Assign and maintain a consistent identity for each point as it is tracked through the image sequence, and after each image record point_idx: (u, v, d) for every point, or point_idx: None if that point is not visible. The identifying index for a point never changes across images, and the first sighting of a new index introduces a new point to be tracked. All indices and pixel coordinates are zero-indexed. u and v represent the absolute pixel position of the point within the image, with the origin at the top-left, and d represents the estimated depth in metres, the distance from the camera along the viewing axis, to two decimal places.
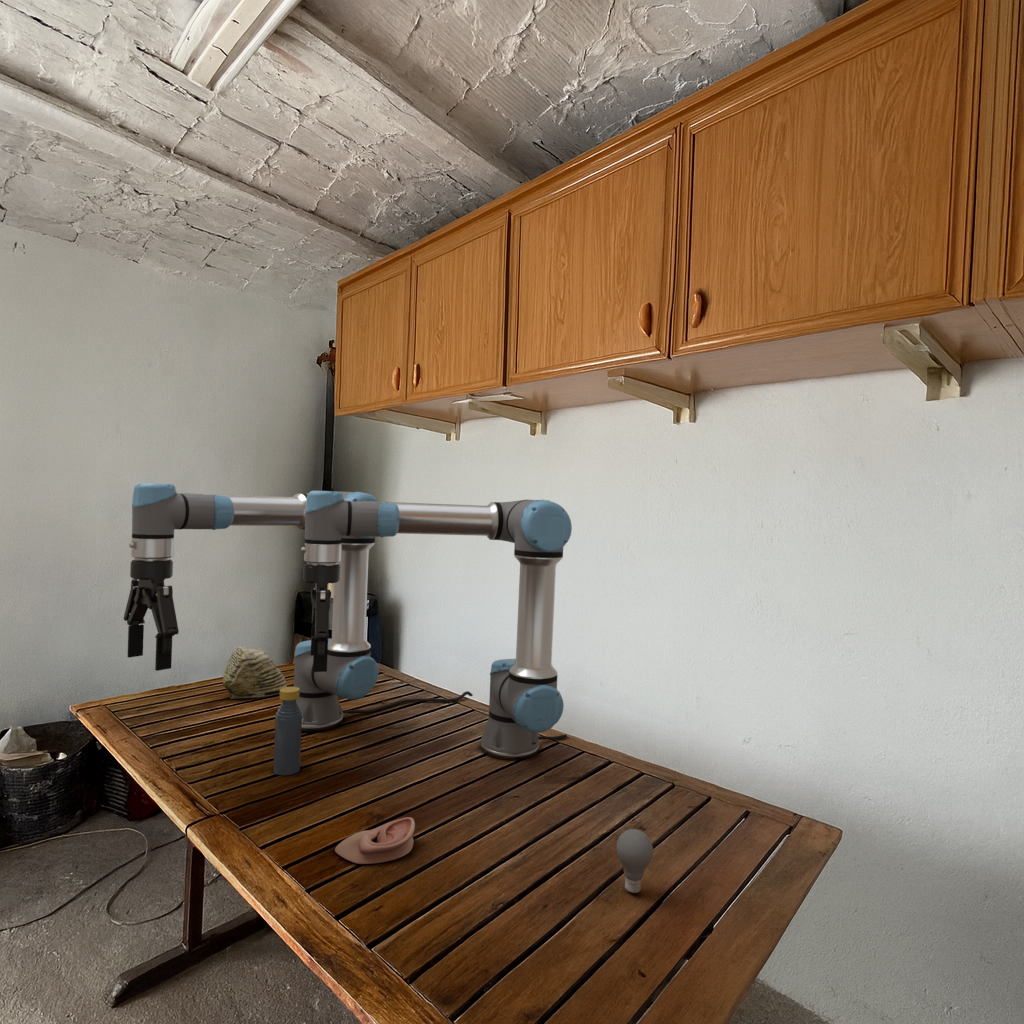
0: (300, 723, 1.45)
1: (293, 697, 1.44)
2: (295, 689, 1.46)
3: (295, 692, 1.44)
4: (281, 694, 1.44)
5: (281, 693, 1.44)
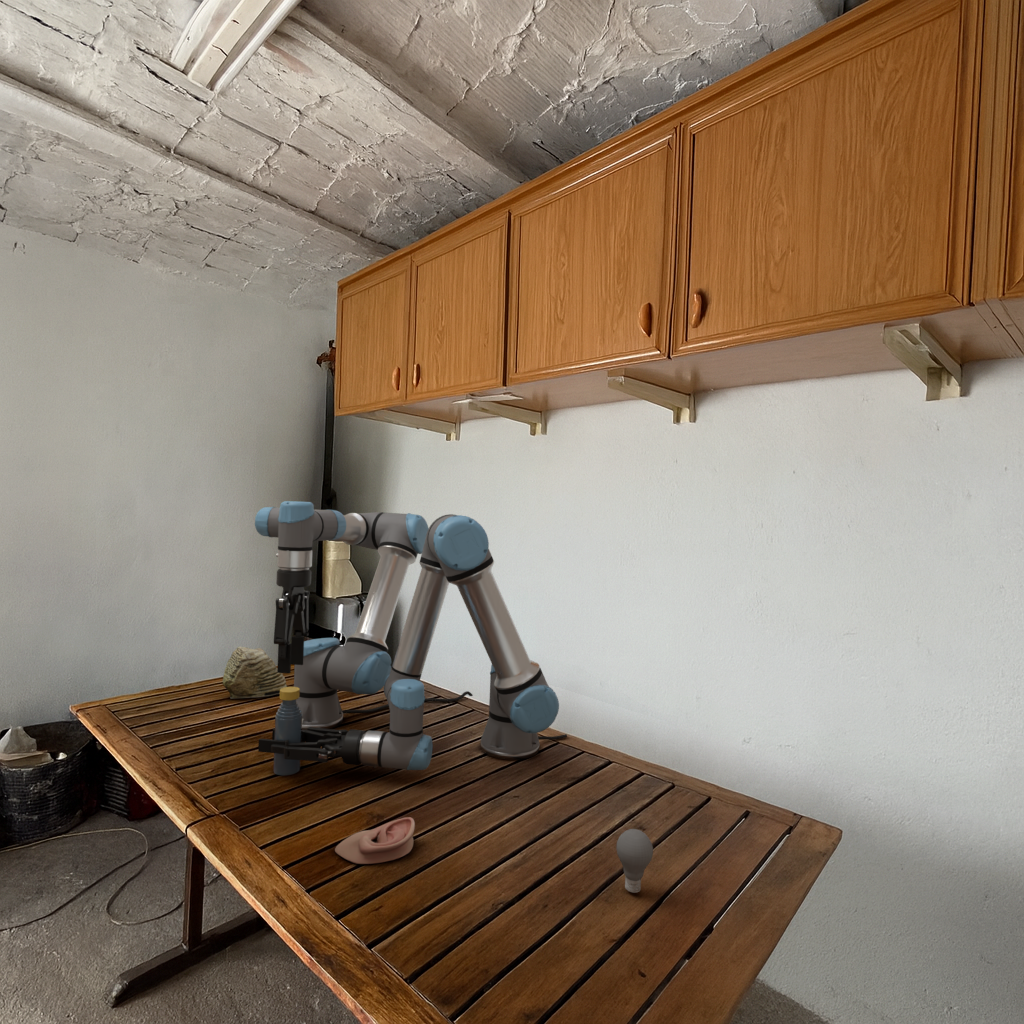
0: (300, 723, 1.45)
1: (293, 697, 1.44)
2: (295, 689, 1.46)
3: (295, 692, 1.44)
4: (281, 694, 1.44)
5: (281, 693, 1.44)
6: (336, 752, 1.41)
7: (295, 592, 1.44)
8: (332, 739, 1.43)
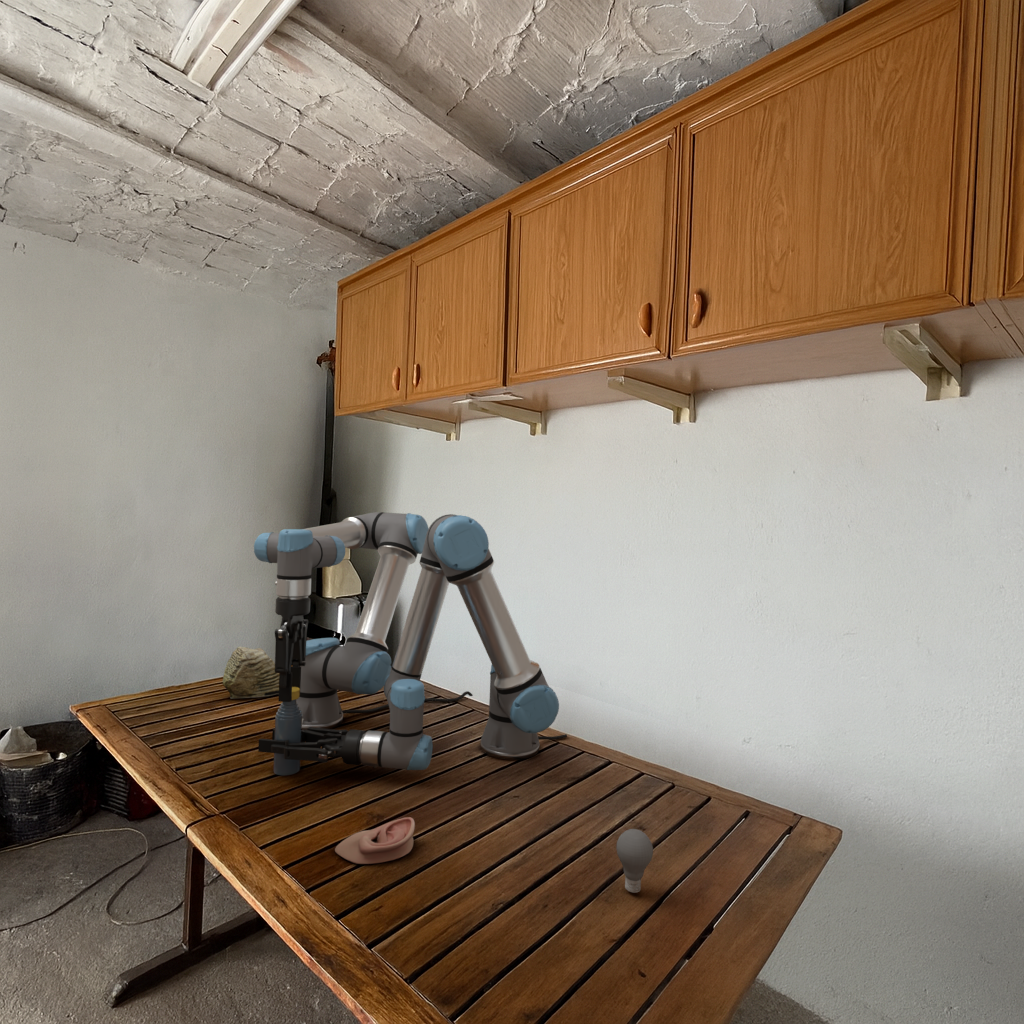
0: (300, 723, 1.45)
1: (293, 697, 1.44)
2: (295, 689, 1.46)
3: (295, 692, 1.44)
4: None
5: None
6: (336, 752, 1.41)
7: (294, 621, 1.44)
8: (332, 739, 1.43)
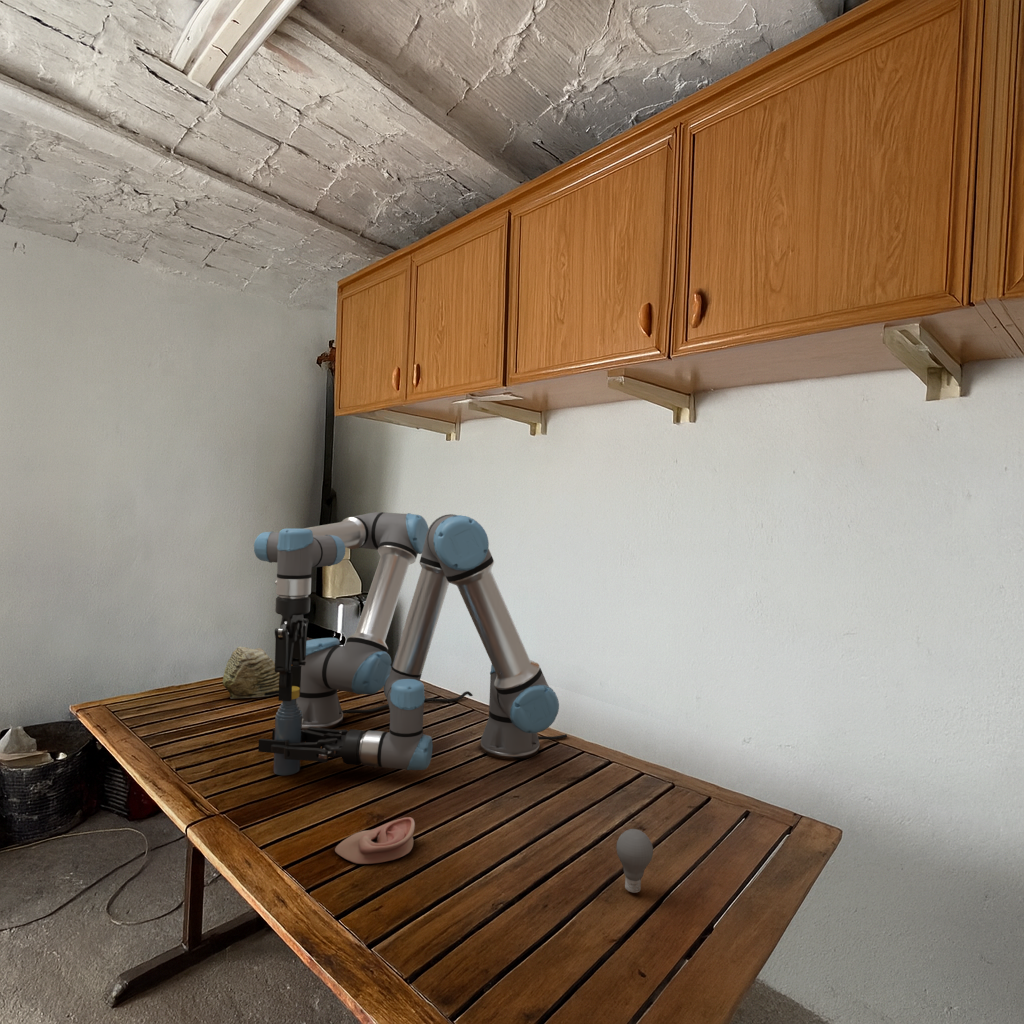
0: (300, 723, 1.45)
1: None
2: None
3: None
4: (299, 691, 1.46)
5: (299, 690, 1.46)
6: (336, 752, 1.41)
7: (294, 620, 1.44)
8: (332, 739, 1.43)
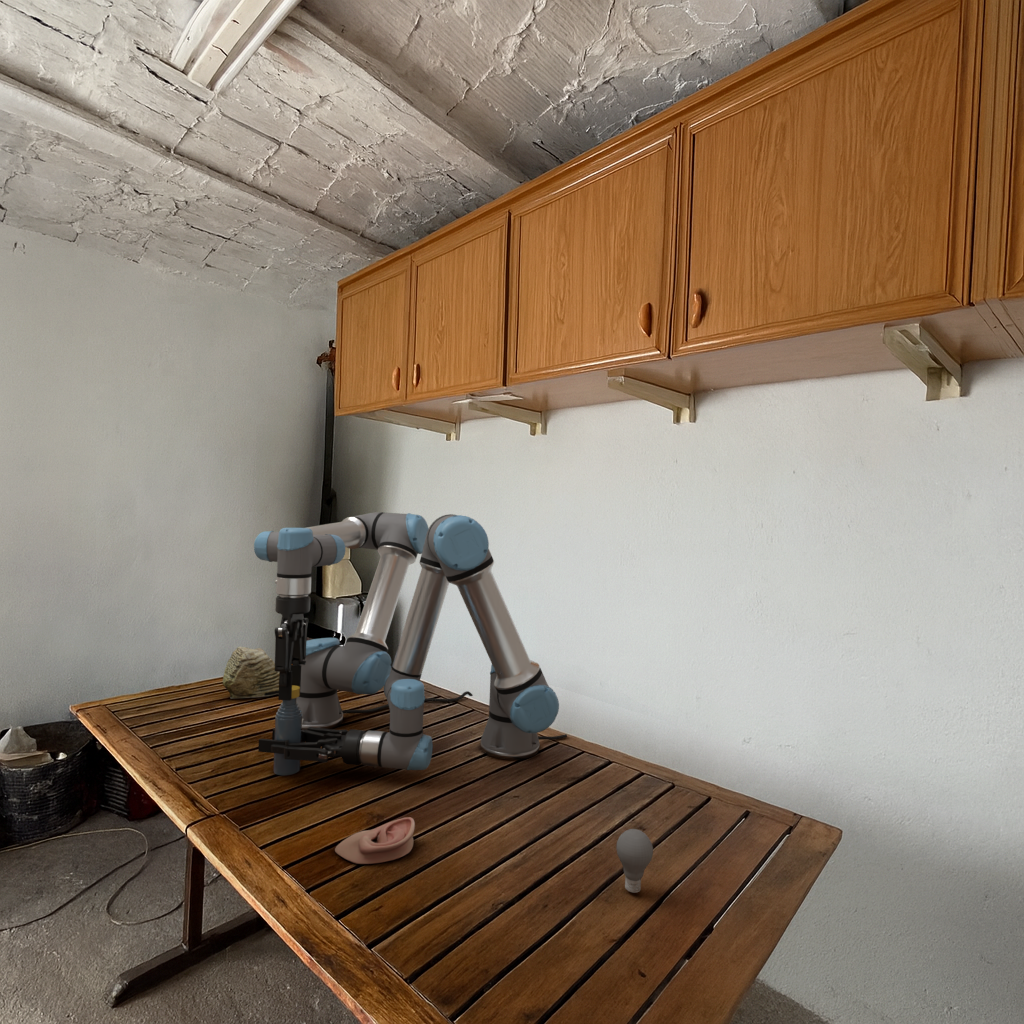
0: (300, 723, 1.45)
1: None
2: None
3: None
4: None
5: None
6: (336, 752, 1.41)
7: (294, 619, 1.44)
8: (332, 739, 1.43)
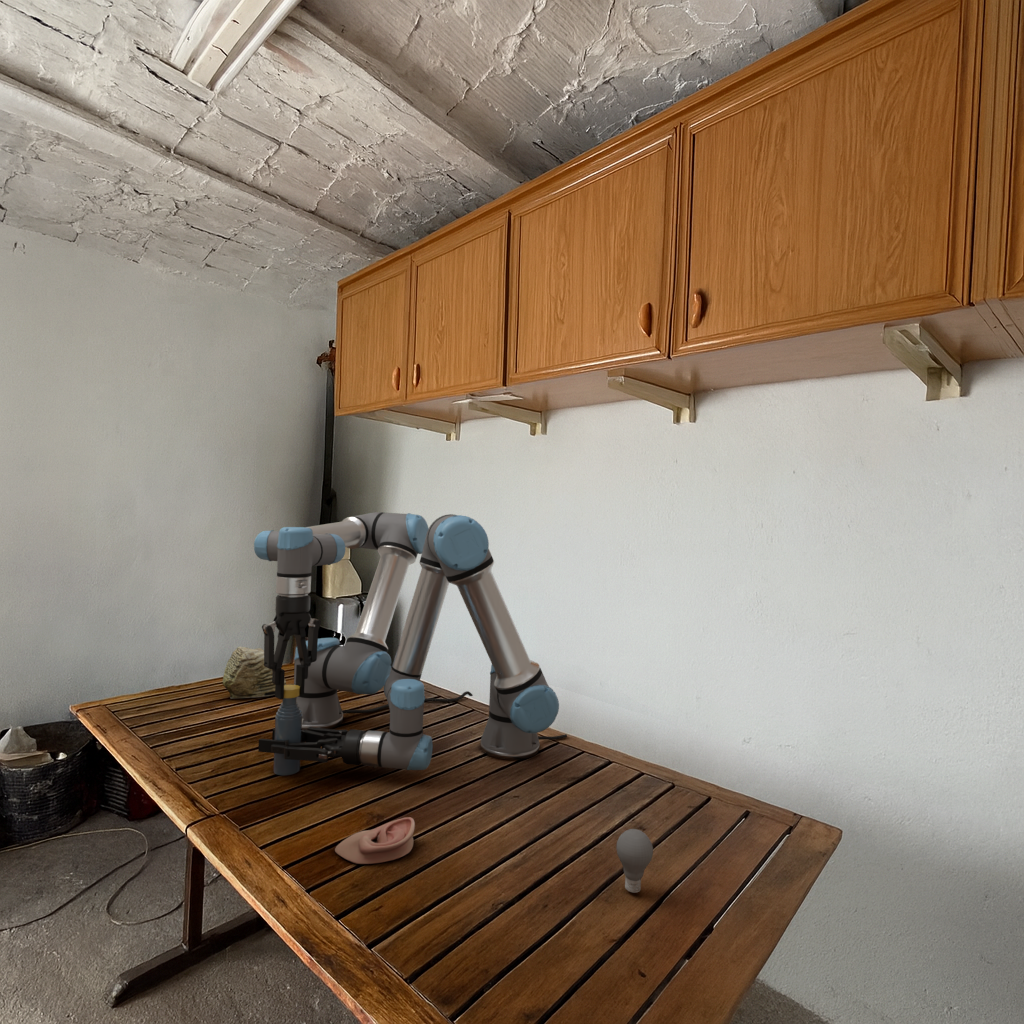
0: (300, 723, 1.45)
1: (299, 692, 1.46)
2: (293, 685, 1.47)
3: (299, 687, 1.47)
4: (291, 692, 1.44)
5: (291, 691, 1.44)
6: (336, 752, 1.41)
7: None
8: (332, 739, 1.43)
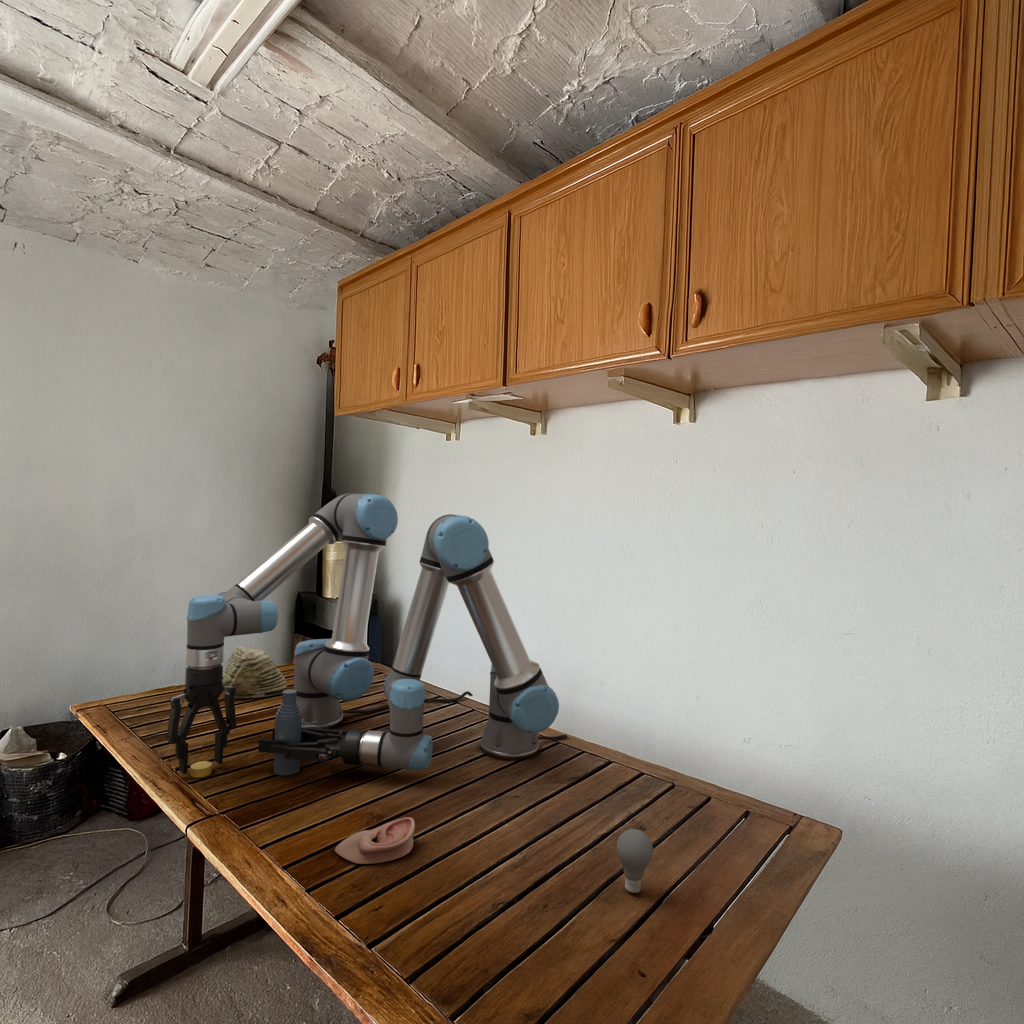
0: (300, 723, 1.45)
1: (211, 769, 1.43)
2: (205, 763, 1.43)
3: (211, 764, 1.43)
4: (201, 771, 1.40)
5: (201, 770, 1.40)
6: (336, 752, 1.41)
7: None
8: (332, 739, 1.43)
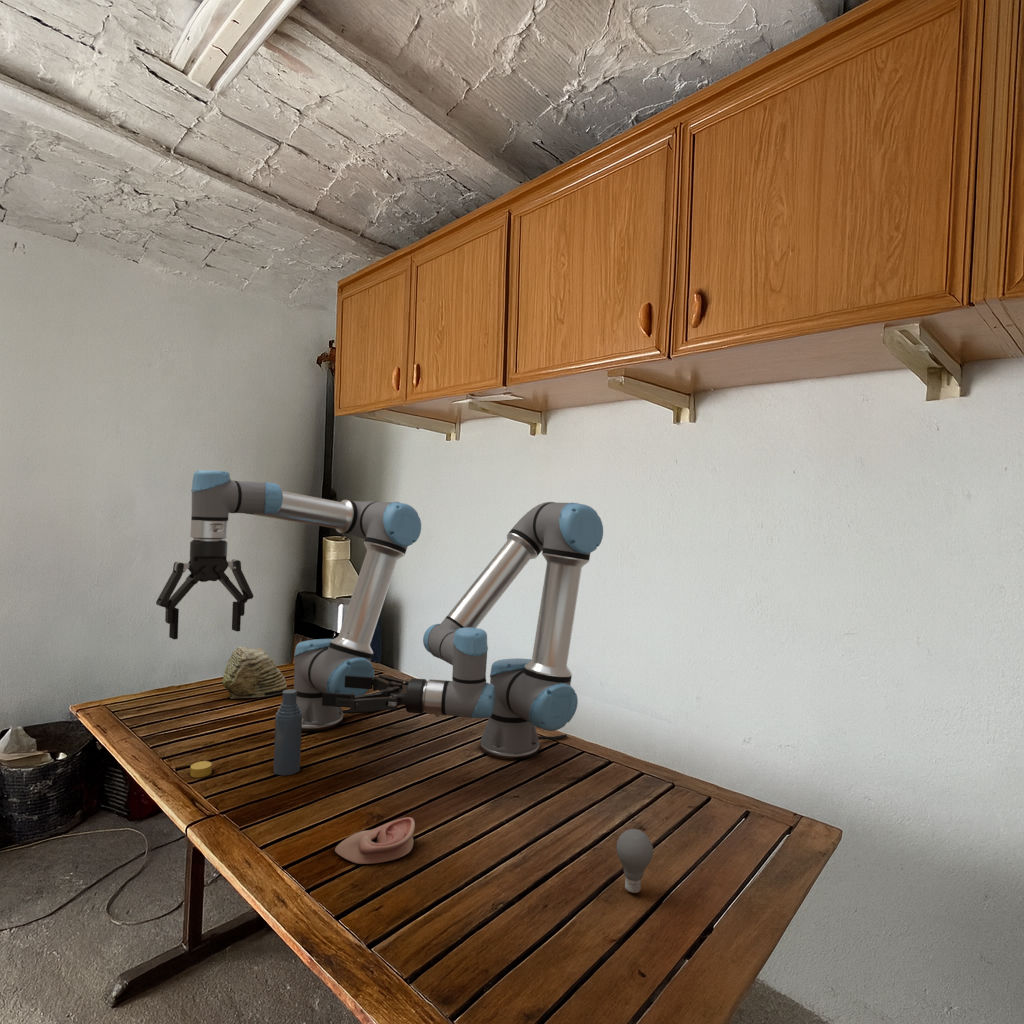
0: (300, 723, 1.45)
1: (211, 769, 1.43)
2: (205, 763, 1.43)
3: (211, 764, 1.43)
4: (201, 771, 1.40)
5: (201, 770, 1.40)
6: None
7: None
8: (394, 687, 1.42)
